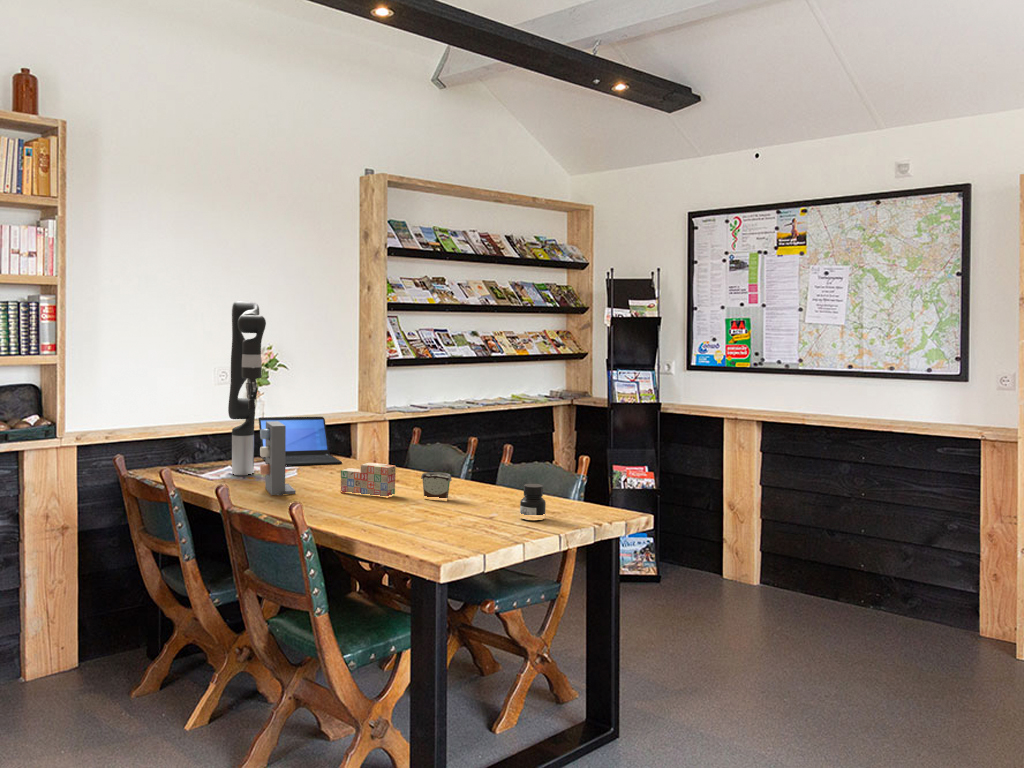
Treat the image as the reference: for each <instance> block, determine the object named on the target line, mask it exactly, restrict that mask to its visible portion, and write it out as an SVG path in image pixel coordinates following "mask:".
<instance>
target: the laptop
mask: <svg viewBox="0 0 1024 768" xmlns="http://www.w3.org/2000/svg"><path fill="white" fill-rule="evenodd" d="M266 421H279V422H280V423H282V424H284V425H285V426H286V442H285V467H289V466H288V465H292V466H291V467H300V466H301V467H302V466H305V467H306V466H326V465H327V466H328V465H329V466H330V465H341V464H342V463H343V462H342V461H341V460H340V459H338V458H336V457H334V456H333V455H331V454H330V446H329V440H328V433H327V424H326V419H325V418H324V416H286V417H285V416H282V417H281V416H278V417H277V416H273V417H272V416H271V417H258V426H259V427H258V428H259V429H258V430H259V431H260V430H261V429H266ZM259 438H260V437H259ZM259 440H260V445H261V446H260V447H266V439H261V438H260V439H259ZM262 459H263V460H264V461H265V462H266V457H262ZM286 465H287V466H286Z"/></svg>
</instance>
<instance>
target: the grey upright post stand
mask: <svg viewBox="0 0 1024 768" xmlns="http://www.w3.org/2000/svg"><path fill="white" fill-rule="evenodd" d="M266 429H270V439H266V447H270V457H266V461H265V463H264V464H270V474H268V475H264V476H265V477H264V478H265V479H264V481H265V482H264V483H265V485H264V486H265V490H266V491H267V492H268V493H269V494H270V495H271V496H272V495H278V496H284V495H283V494H296V492H297V491H296V489H294V487H292V486H291V485H290V484H289V483H286V466H285V442H286V426H285V425H284V424H282V423H280V422H279V421H266Z"/></svg>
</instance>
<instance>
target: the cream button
mask: <svg viewBox="0 0 1024 768" xmlns="http://www.w3.org/2000/svg"><path fill="white" fill-rule="evenodd" d="M259 455H260V457H261V458H263V457H270V447H261V446H260V448H259Z"/></svg>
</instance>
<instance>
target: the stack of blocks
mask: <svg viewBox="0 0 1024 768" xmlns="http://www.w3.org/2000/svg"><path fill="white" fill-rule="evenodd" d="M396 467H397V466H396V465H392V464H388V463H387V464H386V463H377V462H376V463H375V462H366V463H363V464H360V468H352V467H350V468H349V467H347V468H344V469H342V470H340V492H341V491H342V492H352V493H361V494H370V495H380V496H389V495H392V494H395V495H396V470H397V469H396Z"/></svg>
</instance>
